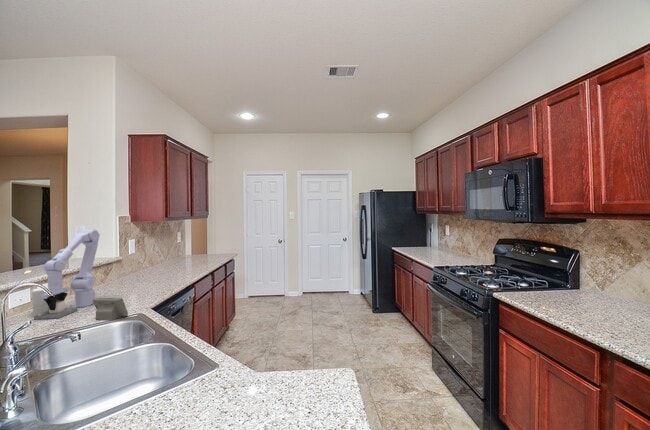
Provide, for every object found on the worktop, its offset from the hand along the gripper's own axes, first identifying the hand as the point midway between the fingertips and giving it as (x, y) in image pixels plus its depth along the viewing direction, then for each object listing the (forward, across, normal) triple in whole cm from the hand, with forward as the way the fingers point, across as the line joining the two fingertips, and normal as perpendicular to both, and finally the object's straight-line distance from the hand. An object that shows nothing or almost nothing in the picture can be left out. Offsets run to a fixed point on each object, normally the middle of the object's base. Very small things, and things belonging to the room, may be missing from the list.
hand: (56, 308), depth 155 cm
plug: (+2, 0, 0) cm, 2 cm away
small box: (+4, +5, +12) cm, 13 cm away
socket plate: (+3, 0, 0) cm, 3 cm away
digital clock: (+4, -8, -32) cm, 34 cm away
